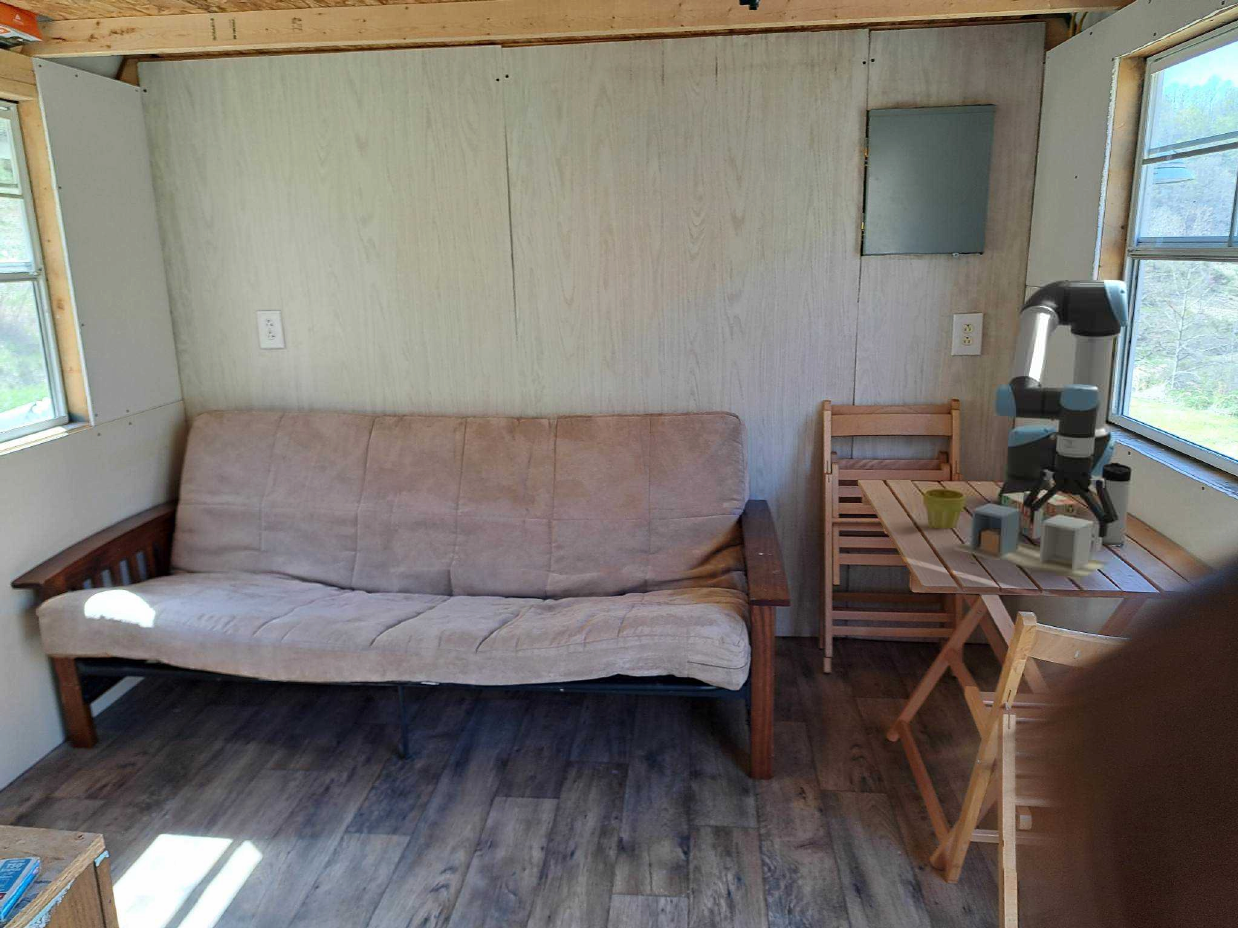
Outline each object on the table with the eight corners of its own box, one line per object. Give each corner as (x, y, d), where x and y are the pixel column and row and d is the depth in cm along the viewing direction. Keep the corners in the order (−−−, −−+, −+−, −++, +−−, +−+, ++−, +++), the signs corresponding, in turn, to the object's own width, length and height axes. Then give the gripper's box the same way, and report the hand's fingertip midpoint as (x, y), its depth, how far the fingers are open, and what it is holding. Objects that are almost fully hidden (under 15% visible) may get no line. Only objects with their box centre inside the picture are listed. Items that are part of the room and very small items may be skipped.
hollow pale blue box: (986, 541, 221) (989, 503, 219) (1017, 548, 215) (1020, 509, 213) (970, 548, 216) (972, 509, 214) (1001, 556, 210) (1004, 516, 208)
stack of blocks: (998, 527, 236) (1002, 482, 233) (1019, 525, 237) (1023, 481, 234) (1050, 552, 215) (1054, 504, 212) (1073, 550, 216) (1078, 502, 213)
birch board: (985, 538, 226) (985, 534, 226) (1108, 566, 204) (1108, 562, 204) (952, 552, 217) (952, 548, 216) (1077, 584, 194) (1078, 580, 194)
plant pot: (966, 535, 229) (968, 499, 227) (924, 533, 232) (926, 497, 229) (959, 523, 239) (961, 488, 237) (919, 522, 241) (921, 487, 239)
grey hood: (1054, 554, 210) (1058, 514, 208) (1089, 562, 204) (1093, 521, 202) (1038, 562, 205) (1042, 521, 203) (1074, 571, 199) (1078, 529, 197)
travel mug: (1120, 539, 222) (1128, 463, 218) (1125, 548, 216) (1134, 469, 212) (1092, 538, 224) (1100, 461, 220) (1097, 546, 218) (1105, 467, 214)
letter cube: (989, 544, 218) (991, 526, 217) (1007, 548, 215) (1008, 530, 214) (980, 548, 216) (981, 530, 215) (998, 553, 212) (999, 534, 211)
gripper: (1012, 448, 206) (1005, 535, 210) (1126, 465, 187) (1116, 559, 192) (1027, 443, 210) (1020, 528, 215) (1140, 459, 192) (1130, 552, 196)
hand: (1065, 543), depth 203 cm, fingers open, 13 cm apart
